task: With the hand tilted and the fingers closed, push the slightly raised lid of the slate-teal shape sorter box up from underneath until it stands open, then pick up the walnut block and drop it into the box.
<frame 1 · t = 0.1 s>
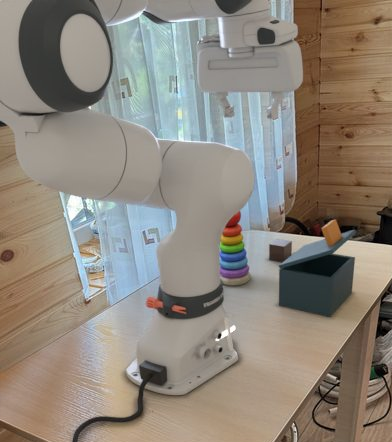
hand: (250, 117, 97), 39 cm above the table, tool pointing down, fingers open, 8 cm apart
sorter: (315, 299, 116), on the table
block: (280, 258, 137), on the table
sorter lid: (314, 240, 109), point 14 cm above the table, hinge at 25.0°
stacking toy: (234, 280, 128), on the table
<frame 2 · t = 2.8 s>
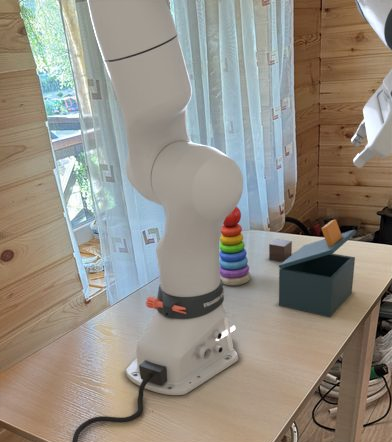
hand: (355, 154, 98), 31 cm above the table, tool tilted 35°, fingers open, 8 cm apart
nothing on the table moved.
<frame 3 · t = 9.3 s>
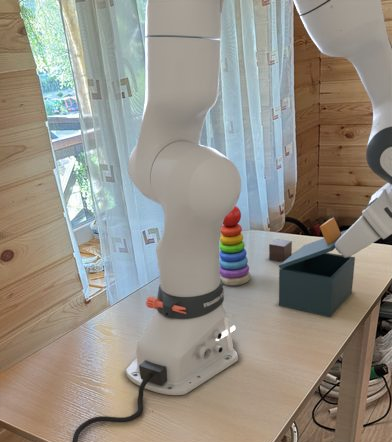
hand: (340, 248, 106), 13 cm above the table, tool tilted 45°, fingers closed
sorter lid: (313, 239, 109), point 14 cm above the table, hinge at 27.4°
everything else where it was.
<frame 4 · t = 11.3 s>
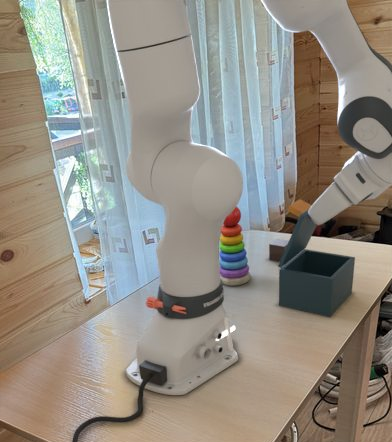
hand: (315, 219, 107), 18 cm above the table, tool tilted 45°, fingers closed
sorter lid: (295, 227, 110), point 16 cm above the table, hinge at 67.4°
everything else where it was.
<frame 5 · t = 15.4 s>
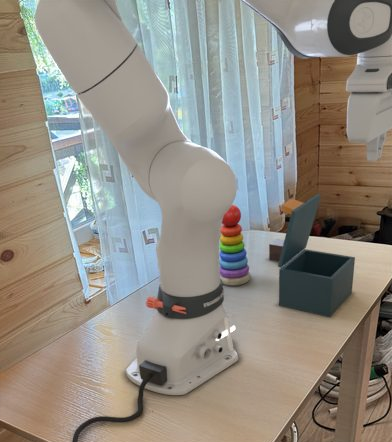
hand: (373, 159, 94), 31 cm above the table, tool pointing down, fingers closed
sorter lid: (291, 227, 111), point 16 cm above the table, hinge at 76.1°
everything else where it was.
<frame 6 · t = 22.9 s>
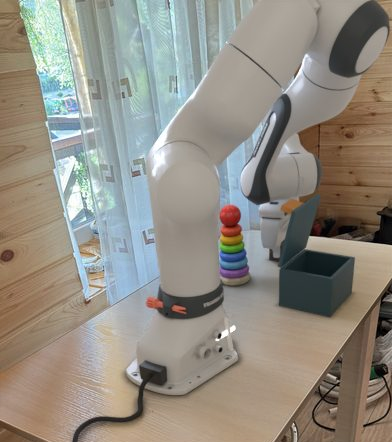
hand: (280, 252, 136), 2 cm above the table, tool pointing down, fingers closed on block, 5 cm apart
block: (280, 258, 137), on the table, touching gripper
everything else where it was.
when the fingers open (13 cm above the table, at t = 30.9 s): block drops 11 cm, resting on sorter.
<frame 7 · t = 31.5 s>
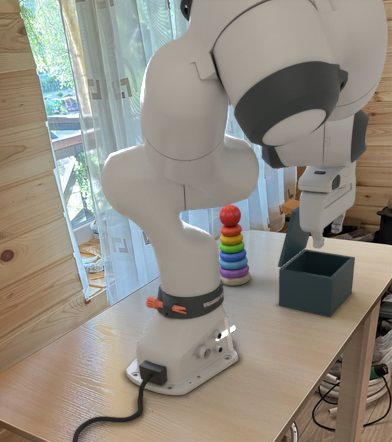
hand: (327, 239, 107), 14 cm above the table, tool pointing down, fingers open, 8 cm apart
block: (323, 298, 114), point 1 cm above the table, touching sorter
everything else where it was.
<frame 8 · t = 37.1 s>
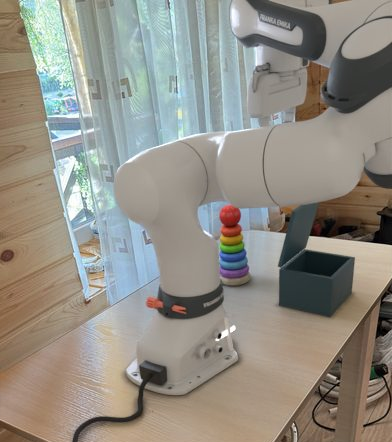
hand: (277, 134, 111), 33 cm above the table, tool pointing down, fingers open, 8 cm apart
nothing on the table moved.
at the end: sorter lid at +76° (first picture: +25°); block inside the target area in the sorter (1.9 cm from its centre), point 0.8 cm above the sorter's base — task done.
